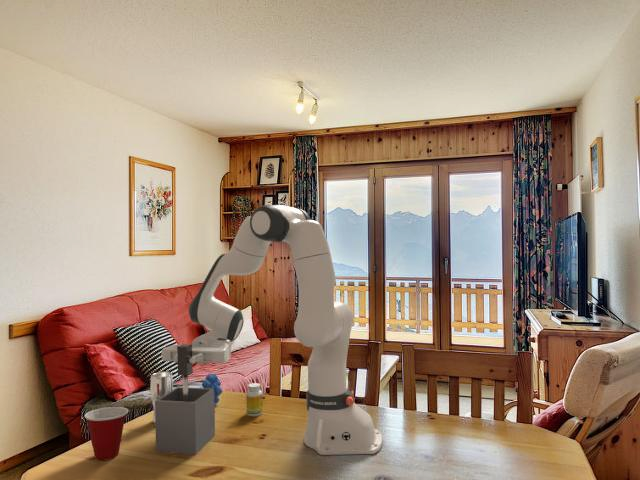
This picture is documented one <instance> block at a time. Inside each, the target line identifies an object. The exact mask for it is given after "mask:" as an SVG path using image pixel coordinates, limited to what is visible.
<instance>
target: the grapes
mask: <svg viewBox="0 0 640 480" xmlns="http://www.w3.org/2000/svg"><path fill="white" fill-rule="evenodd" d="M204 379H205V380H204V381H202V383H201V386H202V387H201V388H210V389H214V407H215V405H216V404H218V403H219V402H220V398H219V397H220V395H221V394H222V393H223V388H222V387H220V386H221V384H222V383H221V381H220V380H219V377H218V376H217V374H216V373H212V374H211V373H210V374H209V373H208V374H207V375H206V376H205V378H204Z"/></svg>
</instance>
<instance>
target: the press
mask: <svg viewBox="0 0 640 480" xmlns="http://www.w3.org/2000/svg"><path fill="white" fill-rule="evenodd" d="M215 415H216V413H215V406H214V389H210V388H203V387H188V402H185V401H183V386H176V387H175V388H173V390H172V391H170V392H169V393H167V394H165V395H164V396H162V397H161V398H159V399H157V400H156V401H155V426H154V427H155V452H156V453H168V454H169V453H170V454H181V455H182V454H183V455H197V454H199V452H200V451H202V449H204V448H205V446H206V445H208V443H209V442H210V441H211V440H212V439H213V438H214V437H215V436H216V421H215V420H216V416H215Z"/></svg>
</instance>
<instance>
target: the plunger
mask: <svg viewBox="0 0 640 480" xmlns="http://www.w3.org/2000/svg"><path fill="white" fill-rule="evenodd" d="M190 356H192V345H191V344H182V345H180V346H178V347H177V361H178V363H177V376H182V387H183V401H185V402H188V388H189V375H190V374H192V373H193V364H190V363H188V361H189V360H188V358H189V357H190Z"/></svg>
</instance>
